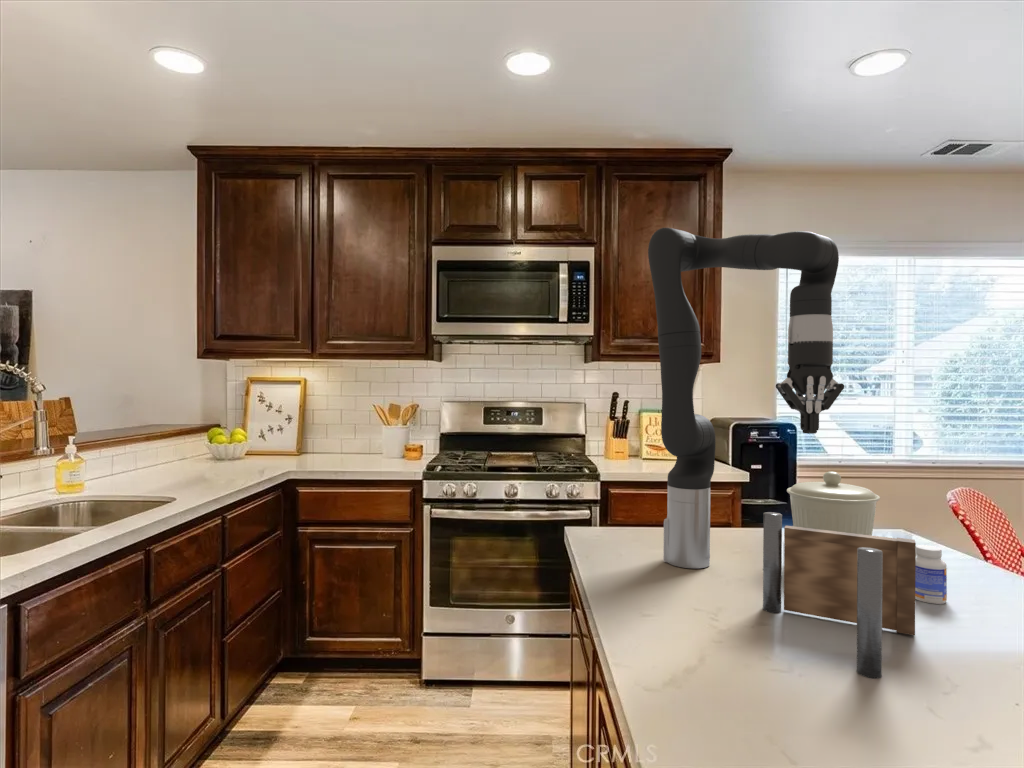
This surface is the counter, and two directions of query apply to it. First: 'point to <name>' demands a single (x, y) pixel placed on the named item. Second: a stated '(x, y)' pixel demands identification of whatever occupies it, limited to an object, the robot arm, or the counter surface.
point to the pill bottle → (930, 575)
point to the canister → (833, 506)
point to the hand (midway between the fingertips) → (809, 433)
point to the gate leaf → (847, 575)
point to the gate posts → (866, 593)
